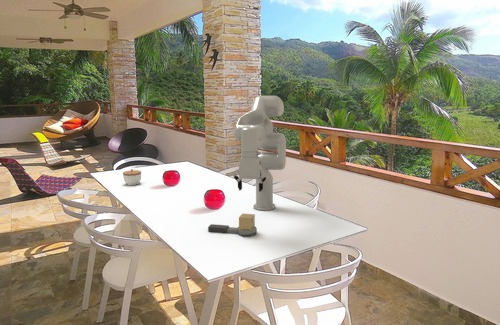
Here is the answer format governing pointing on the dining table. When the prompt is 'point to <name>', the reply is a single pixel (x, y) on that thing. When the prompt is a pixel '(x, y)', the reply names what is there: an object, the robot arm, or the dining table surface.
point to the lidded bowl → (132, 177)
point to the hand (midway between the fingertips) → (250, 190)
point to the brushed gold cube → (247, 222)
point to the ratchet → (231, 230)
